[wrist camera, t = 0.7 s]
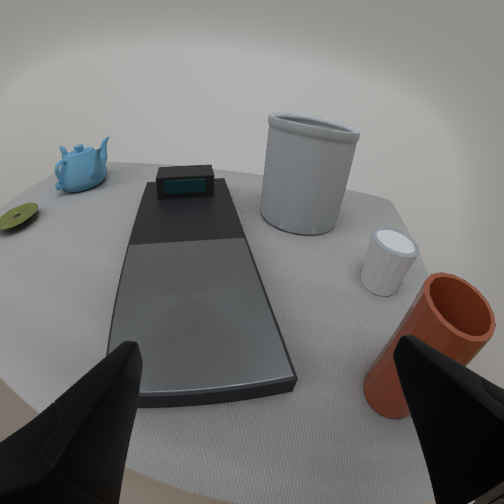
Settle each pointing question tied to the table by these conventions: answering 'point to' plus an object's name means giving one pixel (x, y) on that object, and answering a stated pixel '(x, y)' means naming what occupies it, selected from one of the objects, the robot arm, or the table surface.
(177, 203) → the scale
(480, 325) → the cup
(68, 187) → the teapot
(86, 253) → the table surface
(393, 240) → the shot glass
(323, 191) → the utensil holder
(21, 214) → the mat
